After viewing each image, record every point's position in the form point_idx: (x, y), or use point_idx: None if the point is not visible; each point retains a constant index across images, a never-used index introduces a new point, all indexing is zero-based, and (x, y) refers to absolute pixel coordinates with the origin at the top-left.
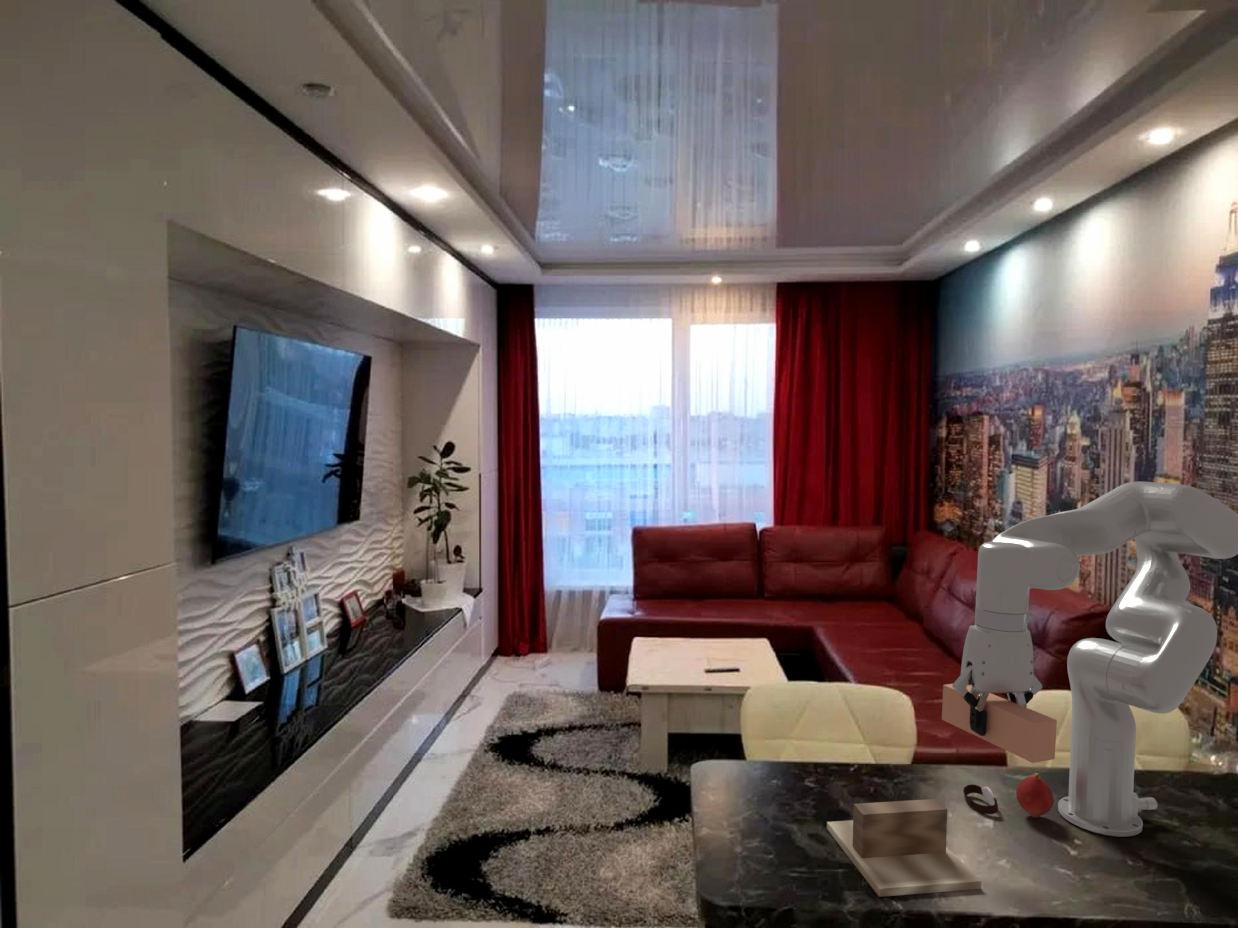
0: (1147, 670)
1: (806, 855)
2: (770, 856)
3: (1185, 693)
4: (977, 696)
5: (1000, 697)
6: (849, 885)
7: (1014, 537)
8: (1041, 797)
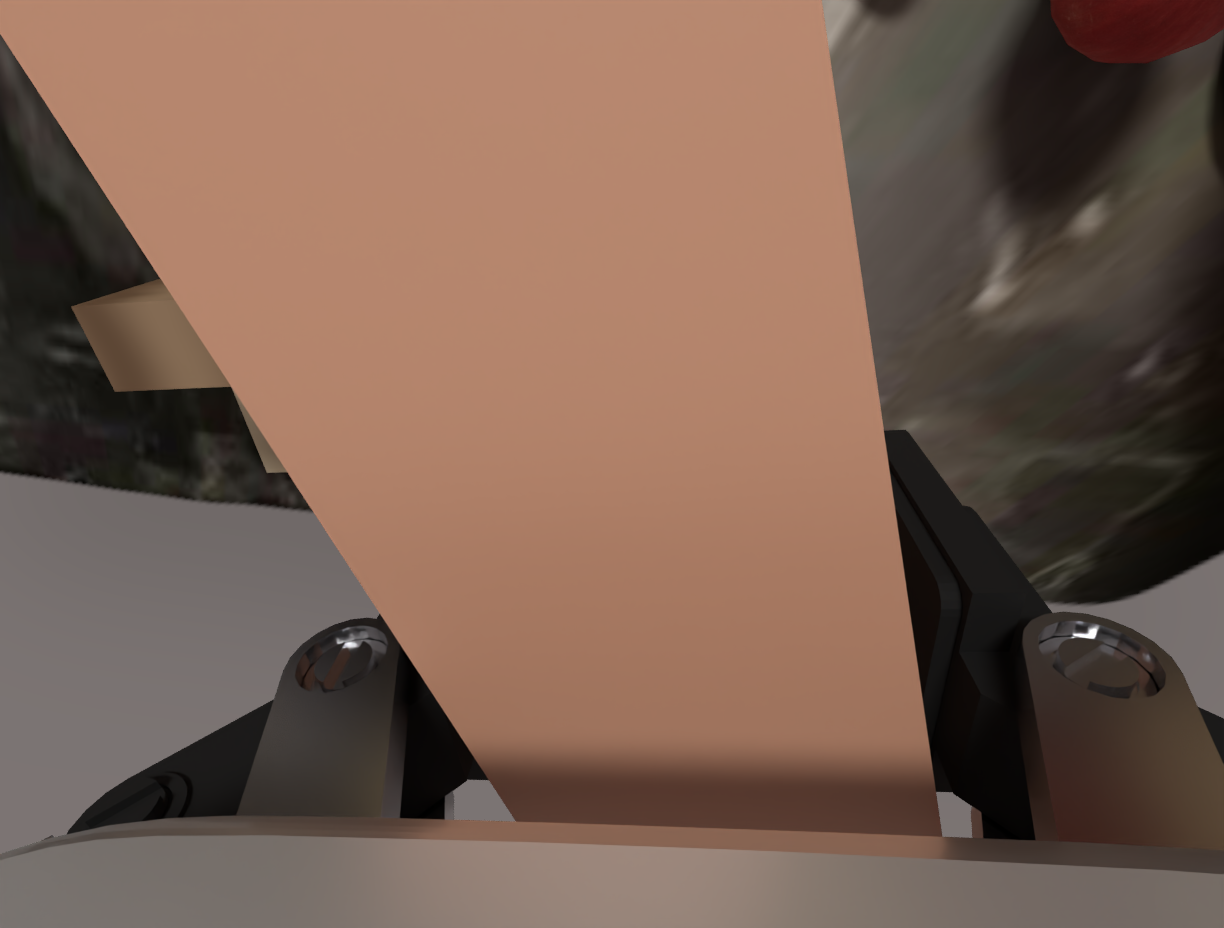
0: None
1: (80, 262)
2: None
3: None
4: (400, 767)
5: (902, 662)
6: (209, 413)
7: None
8: (1139, 51)
